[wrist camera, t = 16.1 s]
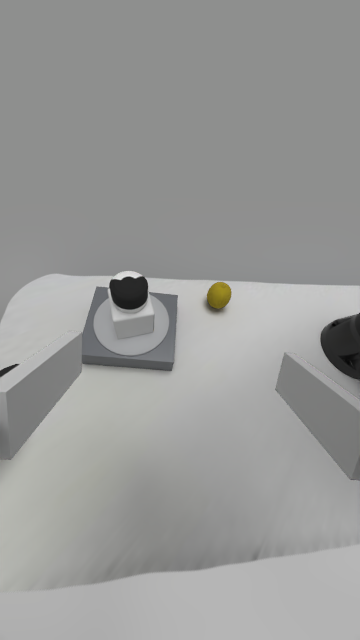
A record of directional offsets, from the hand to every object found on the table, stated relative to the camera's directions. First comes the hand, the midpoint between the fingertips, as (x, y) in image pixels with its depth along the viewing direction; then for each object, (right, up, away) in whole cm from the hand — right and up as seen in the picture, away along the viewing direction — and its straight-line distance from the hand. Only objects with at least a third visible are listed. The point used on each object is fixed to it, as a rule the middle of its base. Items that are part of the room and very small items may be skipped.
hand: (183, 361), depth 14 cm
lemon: (+9, +6, +43) cm, 44 cm away
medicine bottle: (-10, +2, +31) cm, 33 cm away
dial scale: (-11, 0, +36) cm, 37 cm away
